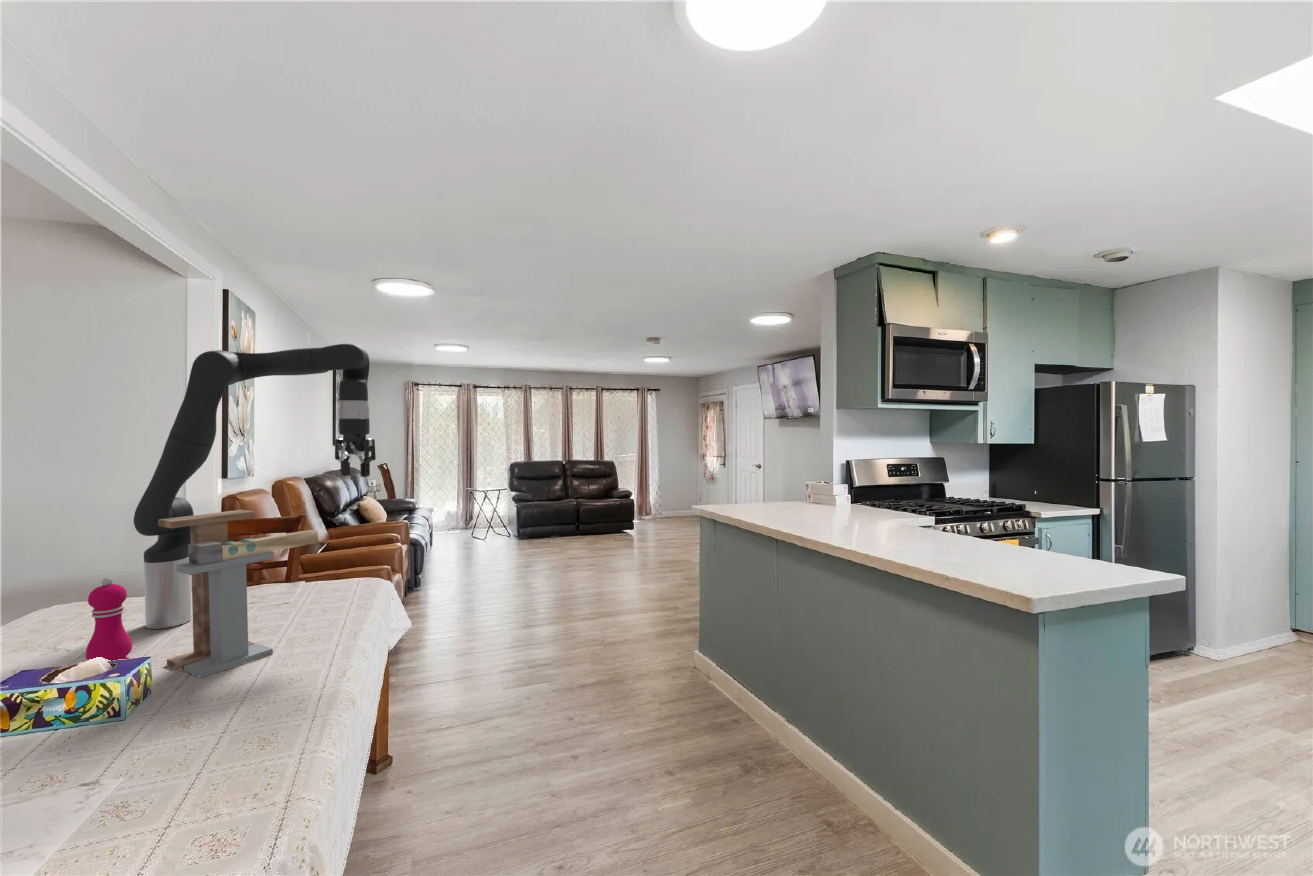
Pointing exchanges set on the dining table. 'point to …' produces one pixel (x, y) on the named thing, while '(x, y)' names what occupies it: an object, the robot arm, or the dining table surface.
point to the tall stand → (202, 577)
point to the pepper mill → (108, 622)
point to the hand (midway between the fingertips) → (355, 476)
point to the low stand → (227, 615)
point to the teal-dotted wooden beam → (247, 547)
